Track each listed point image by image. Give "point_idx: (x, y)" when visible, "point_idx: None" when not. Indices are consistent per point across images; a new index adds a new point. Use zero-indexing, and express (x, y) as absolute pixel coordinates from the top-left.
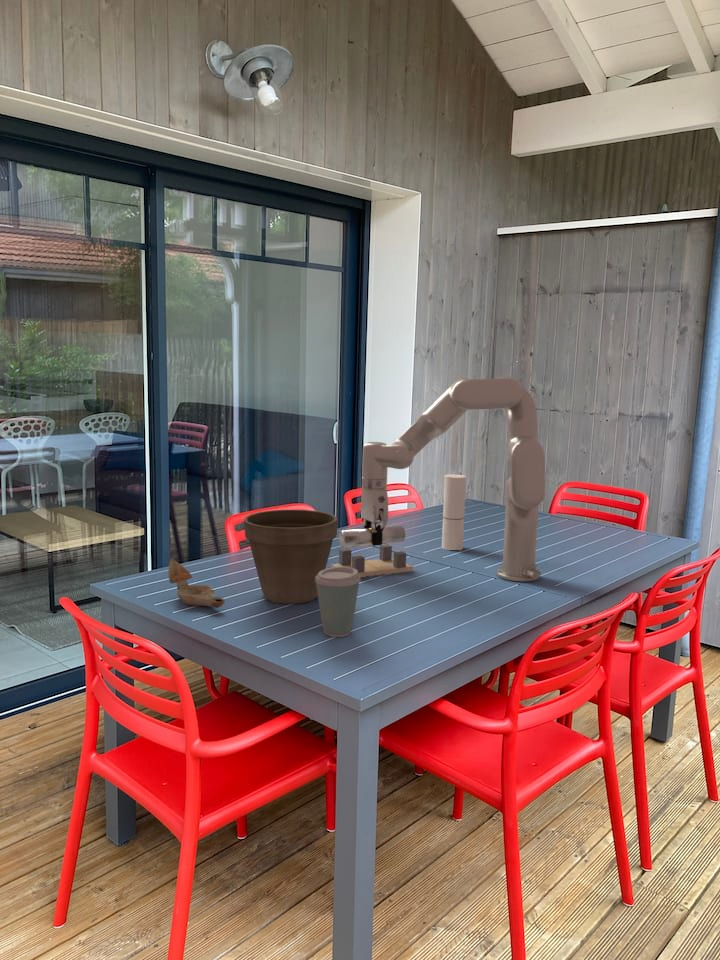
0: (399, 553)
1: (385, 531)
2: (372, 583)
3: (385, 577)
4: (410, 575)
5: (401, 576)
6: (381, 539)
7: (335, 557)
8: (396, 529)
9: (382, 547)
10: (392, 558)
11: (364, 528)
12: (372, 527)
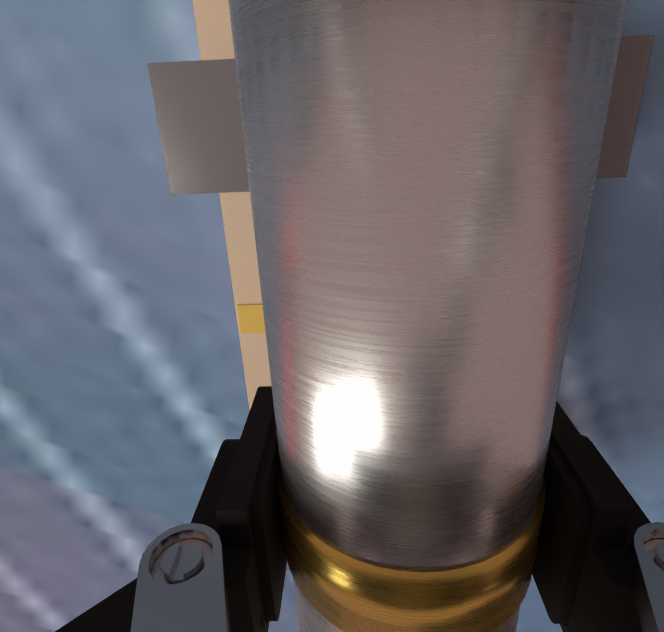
0: (614, 138)
1: (547, 401)
2: (647, 417)
3: (583, 289)
4: (653, 67)
5: (631, 161)
6: (565, 428)
7: (6, 390)
8: (585, 106)
9: (239, 190)
10: (226, 33)
11: (264, 630)
12: (229, 517)
